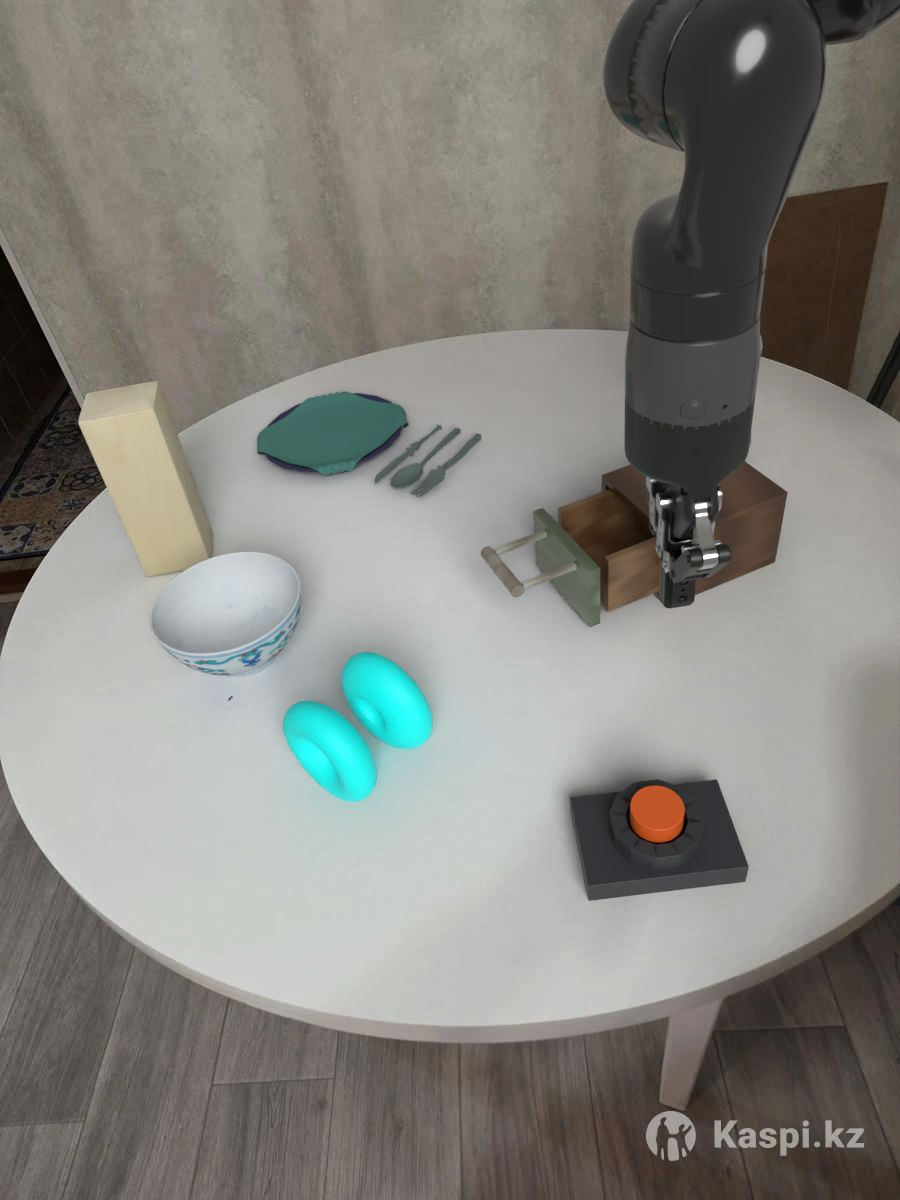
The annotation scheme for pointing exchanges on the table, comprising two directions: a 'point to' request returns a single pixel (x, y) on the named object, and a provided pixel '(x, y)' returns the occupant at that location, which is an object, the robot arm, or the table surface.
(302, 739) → the donuts
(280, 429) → the cutlery set
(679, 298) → the robot arm
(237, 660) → the chinaware
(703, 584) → the cabinet
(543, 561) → the drawer
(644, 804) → the button
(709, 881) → the control block
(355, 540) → the table surface
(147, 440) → the tall cream wooden block
